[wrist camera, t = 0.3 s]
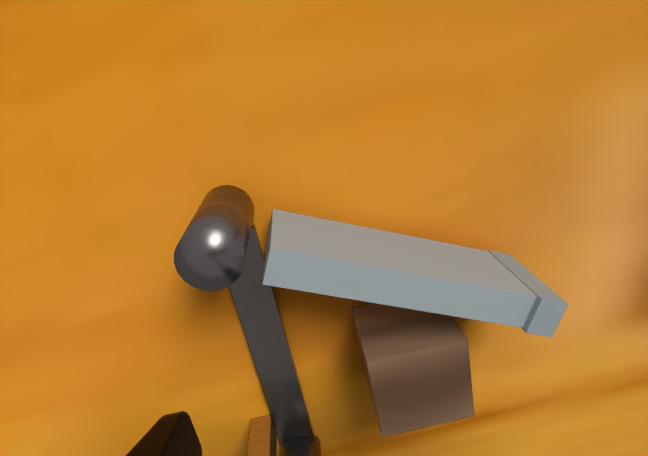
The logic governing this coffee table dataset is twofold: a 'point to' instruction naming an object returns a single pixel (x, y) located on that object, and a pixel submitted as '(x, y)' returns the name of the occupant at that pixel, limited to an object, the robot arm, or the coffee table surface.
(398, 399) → the walnut block
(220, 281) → the dark grey long piece
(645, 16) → the coffee table surface
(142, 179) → the coffee table surface
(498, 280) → the grey block
